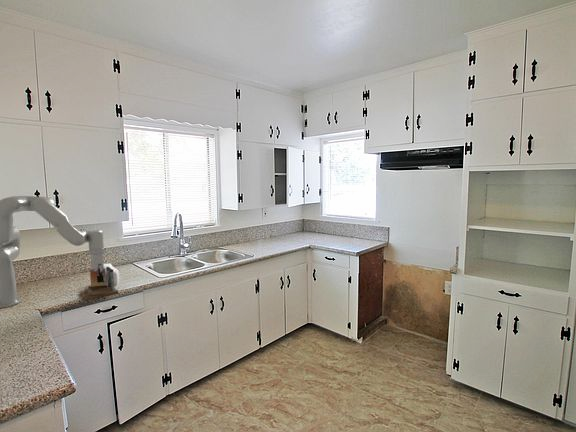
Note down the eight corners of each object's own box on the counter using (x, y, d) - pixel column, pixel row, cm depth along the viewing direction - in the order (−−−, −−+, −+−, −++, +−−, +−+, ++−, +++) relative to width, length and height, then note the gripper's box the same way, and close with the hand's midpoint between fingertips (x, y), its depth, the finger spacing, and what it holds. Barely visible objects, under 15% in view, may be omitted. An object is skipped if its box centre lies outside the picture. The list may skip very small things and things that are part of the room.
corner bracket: (101, 281, 214) (100, 264, 212) (120, 280, 217) (119, 262, 216) (97, 286, 203) (96, 268, 202) (117, 284, 207) (116, 266, 206)
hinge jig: (79, 293, 191) (77, 270, 189) (110, 287, 202) (109, 265, 201) (85, 300, 180) (83, 275, 178) (118, 293, 192) (116, 269, 190)
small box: (90, 287, 187) (89, 269, 186) (92, 284, 192) (90, 267, 191) (106, 285, 190) (105, 268, 189) (107, 282, 195) (106, 265, 194)
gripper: (85, 250, 192) (88, 278, 194) (93, 254, 180) (95, 285, 182) (100, 248, 197) (102, 276, 199) (107, 252, 185) (110, 282, 187)
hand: (98, 280), depth 191 cm, fingers closed on small box, 6 cm apart
